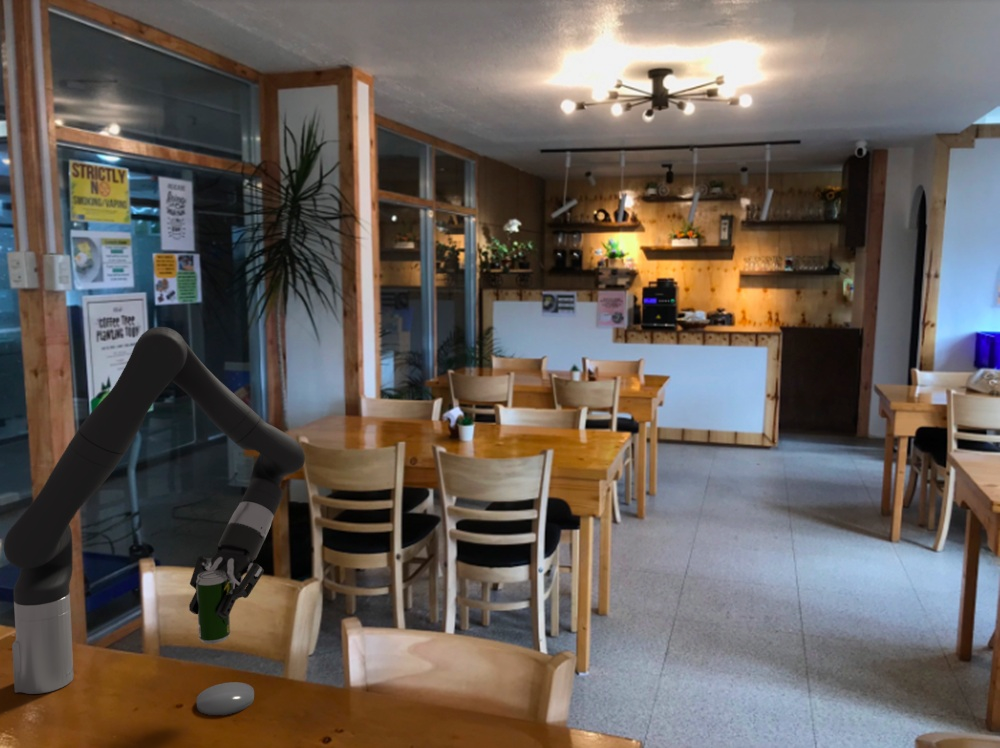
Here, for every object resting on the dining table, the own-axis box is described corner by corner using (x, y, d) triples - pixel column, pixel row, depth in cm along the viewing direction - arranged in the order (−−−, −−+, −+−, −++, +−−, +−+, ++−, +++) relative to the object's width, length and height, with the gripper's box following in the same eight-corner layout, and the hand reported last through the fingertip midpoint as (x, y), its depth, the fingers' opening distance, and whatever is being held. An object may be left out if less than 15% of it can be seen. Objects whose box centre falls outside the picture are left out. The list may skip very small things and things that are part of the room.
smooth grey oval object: (193, 719, 138) (193, 712, 138) (199, 691, 148) (199, 685, 148) (252, 711, 141) (252, 705, 141) (255, 685, 151) (255, 679, 151)
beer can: (203, 647, 139) (199, 582, 138) (196, 636, 144) (192, 573, 143) (233, 639, 142) (230, 575, 141) (226, 629, 147) (223, 567, 146)
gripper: (206, 518, 151) (163, 601, 141) (268, 524, 146) (228, 611, 136) (226, 536, 156) (186, 618, 146) (287, 543, 151) (249, 628, 141)
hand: (206, 614), depth 141 cm, fingers closed on beer can, 5 cm apart
